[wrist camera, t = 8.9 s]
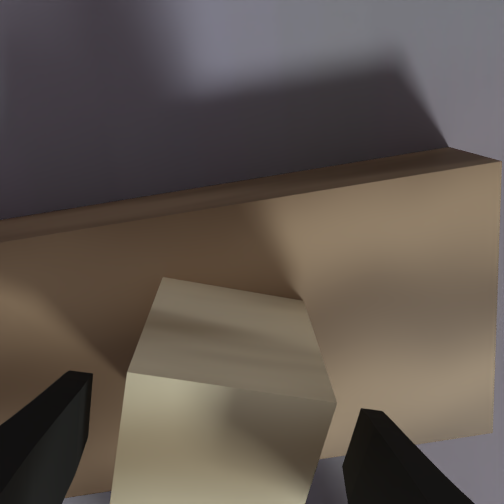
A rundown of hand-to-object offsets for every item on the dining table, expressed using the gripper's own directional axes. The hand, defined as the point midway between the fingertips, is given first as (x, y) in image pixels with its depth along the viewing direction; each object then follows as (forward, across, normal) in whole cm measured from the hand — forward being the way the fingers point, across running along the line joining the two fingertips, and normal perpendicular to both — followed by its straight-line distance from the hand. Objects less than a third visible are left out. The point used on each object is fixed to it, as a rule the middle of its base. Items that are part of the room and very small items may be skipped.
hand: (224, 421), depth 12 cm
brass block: (+7, 0, 0) cm, 7 cm away
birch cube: (+3, 0, 0) cm, 3 cm away
